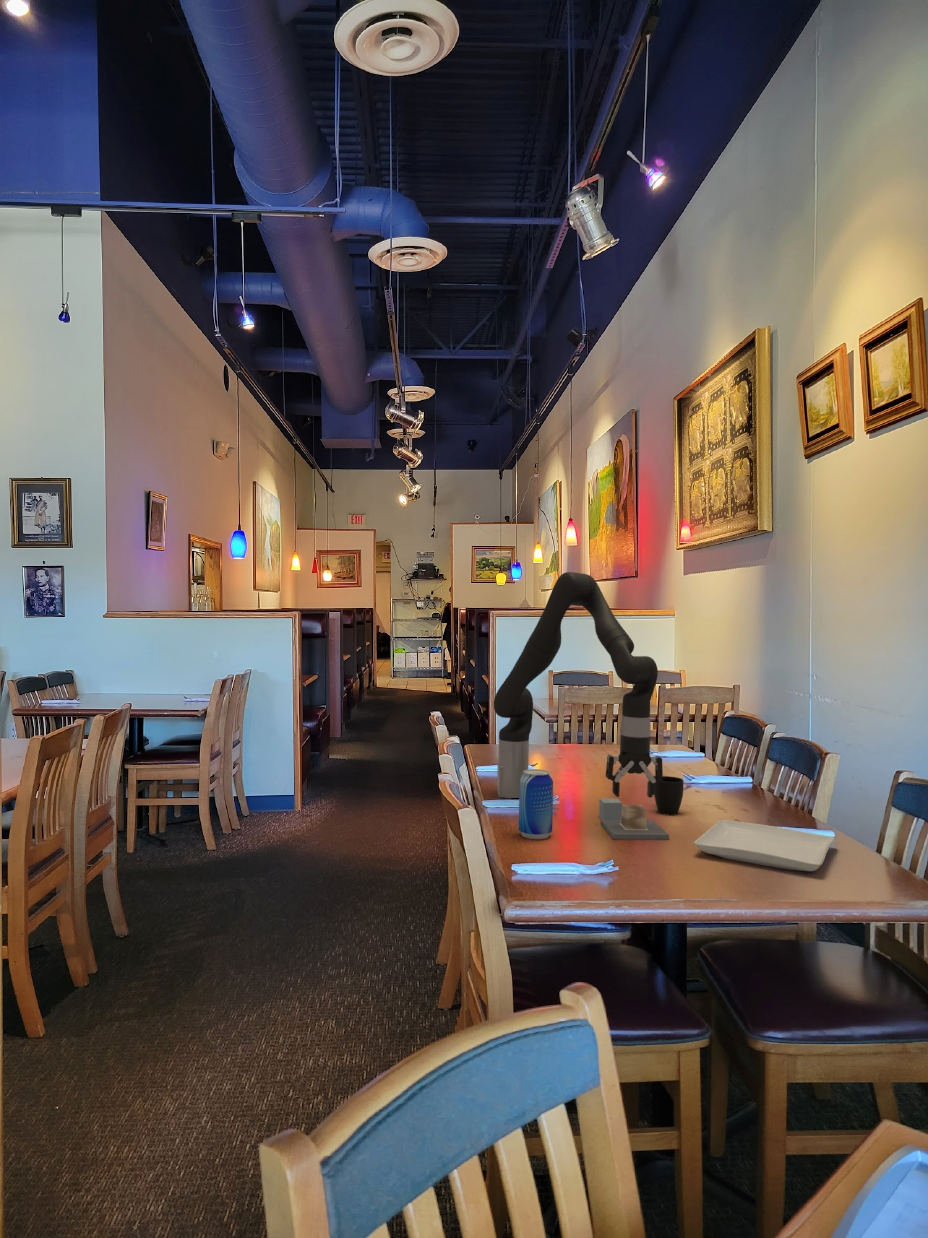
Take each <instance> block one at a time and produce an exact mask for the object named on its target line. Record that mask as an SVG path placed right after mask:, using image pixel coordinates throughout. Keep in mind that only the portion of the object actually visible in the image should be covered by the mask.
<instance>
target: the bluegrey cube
mask: <svg viewBox="0 0 928 1238" xmlns="http://www.w3.org/2000/svg"><path fill="white" fill-rule="evenodd" d="M598 801H599V805H598V809H599V810H598V811H599V813H598V814H599V815H598V816H599V818H600V820H622V805H623V803H622V801H620V799H618V798H599V800H598Z"/></svg>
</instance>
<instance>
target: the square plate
mask: <svg viewBox="0 0 928 1238" xmlns="http://www.w3.org/2000/svg"><path fill="white" fill-rule="evenodd" d="M835 841H836V837H834V836H831V835H824V834H818V833H812V832H808V831H807V832H806V831H802V830H797V829H792V828H786V827H781V826H780V827H779V826H773V825H767V824H761V823H753V822H745V821H744V822H743V821H736V820H729V819H720V820H718V821H717V822H716V823H715V824H713V825H712V826H711V827H710V828H709V829H708V830H706V831H705V832H704V833H703V834H701V835H700V836H699V837H698V838H697V839H696V840H695V841H694V842H693V845H695V846H696V847H697V848H698V849H699V850H700V851H702V852H704V853H705V854H709V855H714V856H717V857H720V858H723V859H726V860H732V861H737V862H743V863H750V864H755V865H759V866H760V865H762V866H767V867H771V866H772V867H773V868H779V869H784V870H789V871H798V872H799V871H801V872H802V871H803V872H814V871H816V870H818V869H819V868H820V867H821V866H822V865H823V863H824V861H825V858H826V855H827V854H828V851H829V850H830V848H831V846H832V845H833V844H834V843H835Z"/></svg>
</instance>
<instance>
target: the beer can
mask: <svg viewBox="0 0 928 1238" xmlns="http://www.w3.org/2000/svg"><path fill="white" fill-rule="evenodd" d="M523 773H524V774H523V775H522V777H521V778H520V782H519V799H518V831H519V833H520V835H521V836H522V837H523V838H526V839H529V840H545V839H548V838H550V835H551V834H552V832H553V819H554V817H553V815H554V814H553V813H554V812H553V811H554V810H553V809H554V781H553V778H552V777H551V775H550V771H549V770H545V769H541V768H539V769H537V768H533V769H532V768H531V769H530V768H528V770H524V771H523Z"/></svg>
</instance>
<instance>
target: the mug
mask: <svg viewBox="0 0 928 1238" xmlns="http://www.w3.org/2000/svg"><path fill="white" fill-rule="evenodd" d="M684 782H685V781H684V779H683V778H680V777H677V776H669V775H668V776H667V775H663V780H662V781H657V782H656V783H655V794H654V795H653V796H654V801H655V805H656V808H657V813H659V814H662V815H666V814H668V816H673V814H676V815H679V811H680V808H681V806H682V805H681V804H682V801H683V796H684Z"/></svg>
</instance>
